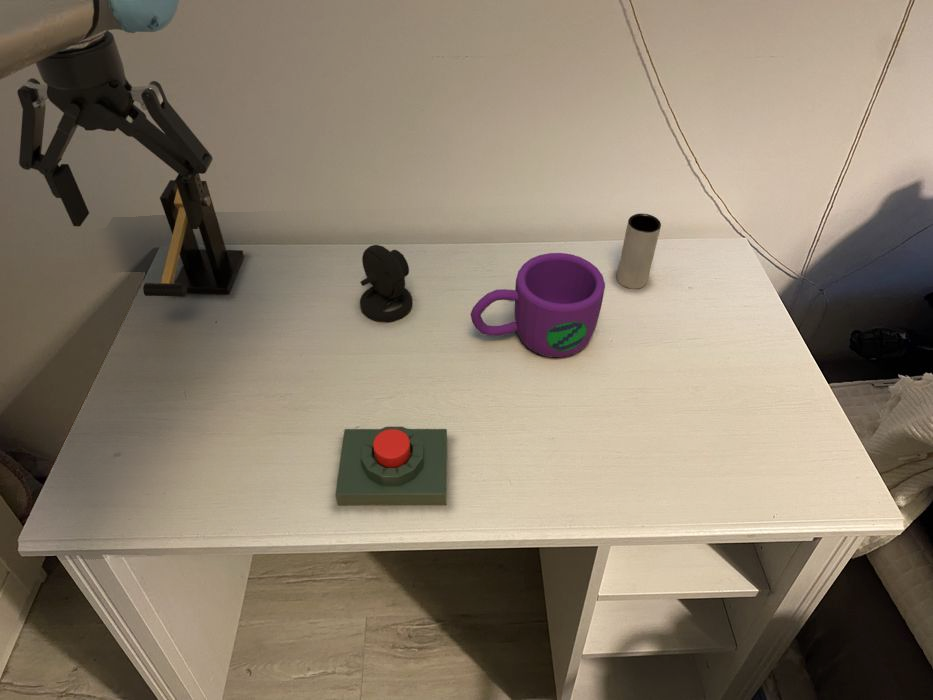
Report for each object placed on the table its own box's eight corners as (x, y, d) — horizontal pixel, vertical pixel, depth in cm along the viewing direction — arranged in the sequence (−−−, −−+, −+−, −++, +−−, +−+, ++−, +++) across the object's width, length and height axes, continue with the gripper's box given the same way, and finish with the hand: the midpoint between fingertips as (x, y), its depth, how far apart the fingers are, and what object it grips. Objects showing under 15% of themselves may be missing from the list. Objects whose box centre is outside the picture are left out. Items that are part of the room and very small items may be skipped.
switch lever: (186, 300, 92) (179, 291, 90) (148, 299, 92) (140, 290, 90) (209, 198, 99) (203, 187, 96) (173, 197, 99) (167, 186, 96)
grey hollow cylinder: (613, 270, 108) (624, 214, 100) (642, 268, 108) (655, 212, 101) (621, 290, 105) (633, 233, 97) (650, 288, 105) (665, 231, 98)
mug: (581, 302, 103) (590, 246, 95) (606, 358, 95) (618, 302, 88) (462, 316, 100) (463, 260, 93) (478, 375, 92) (479, 319, 85)
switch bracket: (229, 294, 103) (203, 209, 92) (174, 293, 103) (142, 207, 93) (244, 256, 109) (221, 171, 99) (192, 254, 109) (164, 170, 99)
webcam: (424, 306, 102) (421, 251, 94) (383, 331, 98) (377, 275, 91) (389, 281, 106) (385, 225, 98) (349, 303, 102) (341, 247, 95)
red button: (373, 467, 78) (371, 458, 77) (376, 438, 81) (374, 429, 79) (409, 467, 78) (408, 458, 77) (411, 438, 81) (410, 428, 79)
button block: (337, 505, 79) (333, 485, 76) (346, 440, 85) (342, 419, 82) (446, 505, 79) (445, 484, 76) (447, 440, 85) (446, 419, 82)
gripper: (210, 23, 71) (253, 205, 86) (-39, 18, 71) (47, 200, 86) (187, 55, 65) (237, 243, 80) (-82, 49, 66) (18, 237, 81)
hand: (139, 221), depth 83 cm, fingers open, 13 cm apart
